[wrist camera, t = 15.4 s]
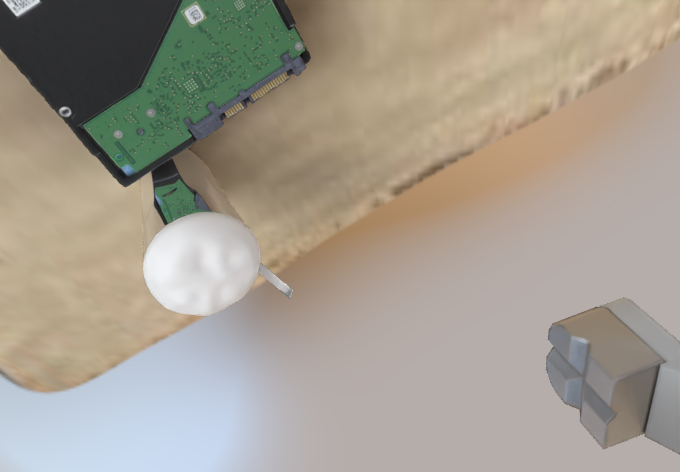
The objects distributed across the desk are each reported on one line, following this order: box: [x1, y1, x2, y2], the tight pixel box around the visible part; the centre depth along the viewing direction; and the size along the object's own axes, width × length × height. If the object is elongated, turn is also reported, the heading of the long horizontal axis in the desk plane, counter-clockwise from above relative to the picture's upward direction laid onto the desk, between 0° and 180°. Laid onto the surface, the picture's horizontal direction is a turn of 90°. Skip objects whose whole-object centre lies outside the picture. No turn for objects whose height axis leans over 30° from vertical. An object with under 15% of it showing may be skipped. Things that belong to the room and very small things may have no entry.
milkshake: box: [139, 149, 293, 316], centre depth 28 cm, size 4×5×10 cm
